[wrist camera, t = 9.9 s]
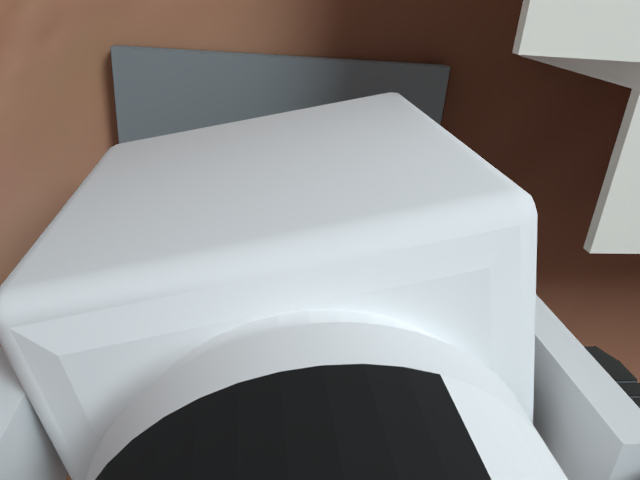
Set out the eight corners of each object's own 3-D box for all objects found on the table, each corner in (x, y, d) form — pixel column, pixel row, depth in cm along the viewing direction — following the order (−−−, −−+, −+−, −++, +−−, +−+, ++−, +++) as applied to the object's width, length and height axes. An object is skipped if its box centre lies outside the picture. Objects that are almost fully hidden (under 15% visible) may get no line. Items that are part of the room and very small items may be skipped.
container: (186, 376, 17) (65, 1191, 6) (104, 142, 14) (-614, 995, 2) (423, 327, 18) (766, 1007, 6) (401, 86, 14) (1106, 588, 3)
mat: (402, 328, 22) (405, 336, 21) (138, 331, 20) (136, 339, 20) (445, 64, 17) (450, 66, 17) (114, 45, 16) (110, 47, 15)
